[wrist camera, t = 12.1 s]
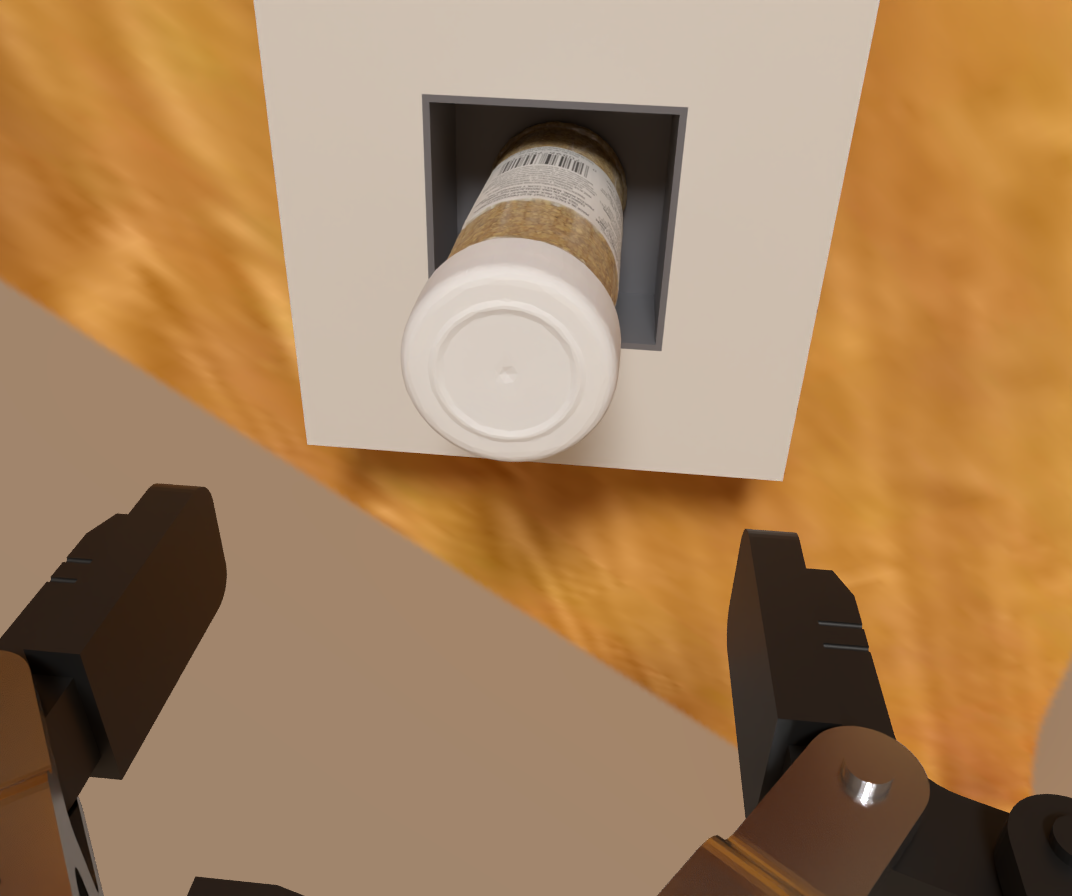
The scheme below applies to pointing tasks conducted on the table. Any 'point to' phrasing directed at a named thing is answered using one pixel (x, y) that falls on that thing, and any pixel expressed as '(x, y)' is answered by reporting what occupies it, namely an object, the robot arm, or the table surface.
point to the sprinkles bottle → (525, 303)
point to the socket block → (648, 218)
